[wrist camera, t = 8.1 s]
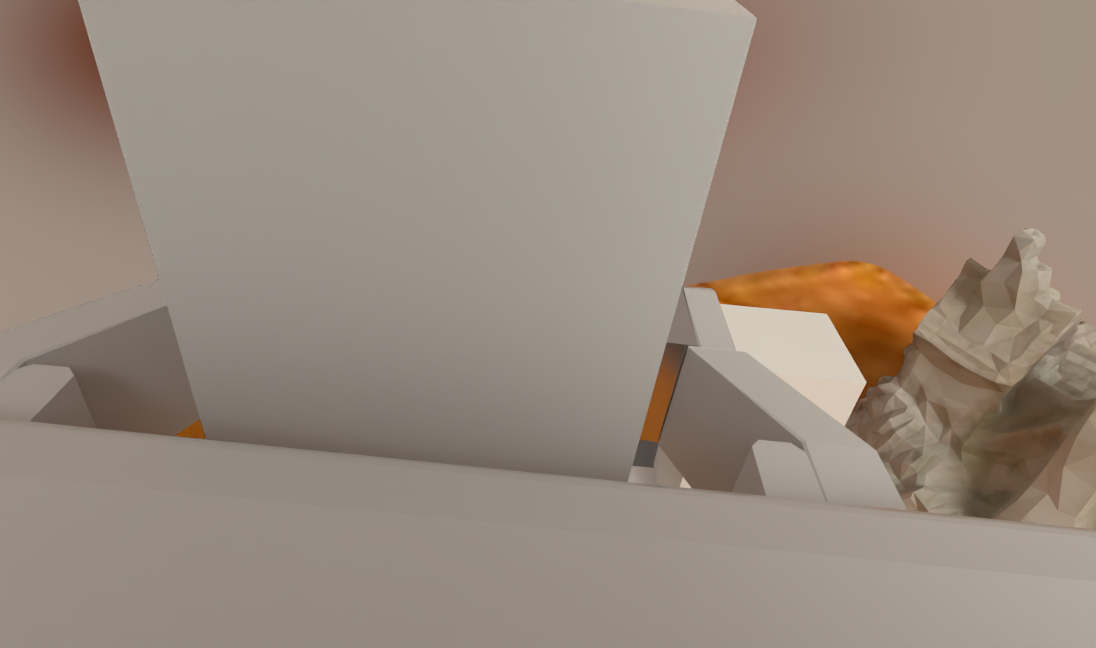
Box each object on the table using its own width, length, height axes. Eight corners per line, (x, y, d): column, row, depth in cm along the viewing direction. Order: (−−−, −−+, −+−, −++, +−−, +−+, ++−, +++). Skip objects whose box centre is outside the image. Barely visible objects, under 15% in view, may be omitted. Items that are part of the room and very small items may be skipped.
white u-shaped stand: (187, 604, 24) (88, 377, 18) (283, 422, 33) (240, 220, 26) (822, 653, 25) (955, 453, 18) (760, 463, 33) (838, 277, 27)
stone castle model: (1029, 709, 24) (1348, 405, 16) (773, 422, 37) (880, 174, 29) (1258, 620, 29) (1584, 358, 21) (965, 396, 42) (1100, 180, 34)
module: (285, 711, 10) (56, -75, 4) (373, 455, 15) (332, -102, 9) (556, 735, 11) (756, 19, 4) (562, 474, 15) (661, -59, 9)
